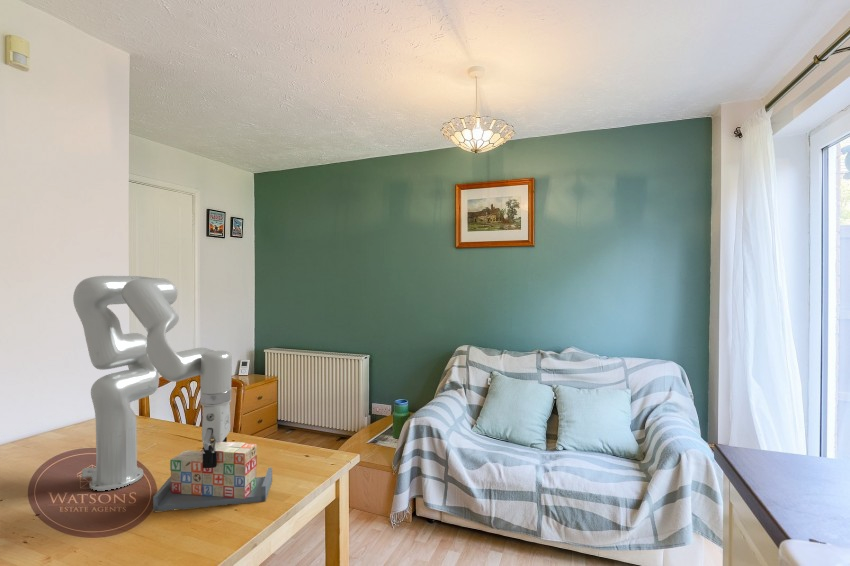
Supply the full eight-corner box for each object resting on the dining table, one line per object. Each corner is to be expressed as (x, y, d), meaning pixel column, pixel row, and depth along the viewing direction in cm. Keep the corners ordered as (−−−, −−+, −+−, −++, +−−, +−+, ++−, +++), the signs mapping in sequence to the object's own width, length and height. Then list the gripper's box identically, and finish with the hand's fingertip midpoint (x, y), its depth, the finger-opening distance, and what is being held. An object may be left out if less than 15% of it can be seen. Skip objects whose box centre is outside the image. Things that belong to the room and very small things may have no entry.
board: (153, 512, 105) (153, 496, 105) (170, 490, 116) (170, 476, 116) (265, 501, 110) (265, 486, 110) (272, 481, 121) (272, 467, 121)
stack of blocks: (169, 493, 111) (169, 448, 111) (185, 482, 117) (185, 439, 117) (245, 498, 109) (244, 452, 108) (257, 486, 115) (257, 442, 115)
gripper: (221, 406, 105) (221, 473, 105) (238, 387, 122) (237, 445, 122) (189, 407, 103) (188, 475, 104) (210, 388, 120) (210, 446, 121)
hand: (215, 459), depth 113 cm, fingers open, 9 cm apart
